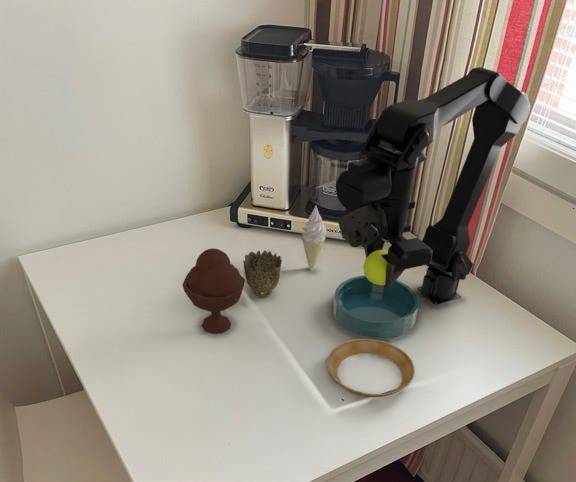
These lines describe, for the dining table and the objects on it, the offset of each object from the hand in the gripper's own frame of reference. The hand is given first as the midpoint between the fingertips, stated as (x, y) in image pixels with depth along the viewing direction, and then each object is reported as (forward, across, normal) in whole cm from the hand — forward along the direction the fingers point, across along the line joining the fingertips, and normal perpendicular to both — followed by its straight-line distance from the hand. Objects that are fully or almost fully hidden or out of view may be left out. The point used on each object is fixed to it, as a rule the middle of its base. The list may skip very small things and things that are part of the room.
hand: (379, 277), depth 107 cm
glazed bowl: (+12, -4, +3) cm, 13 cm away
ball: (+1, 0, 0) cm, 1 cm away
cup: (+12, -19, -14) cm, 26 cm away
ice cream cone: (+12, -23, -1) cm, 26 cm away
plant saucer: (+12, +11, -7) cm, 18 cm away
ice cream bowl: (+12, -12, -26) cm, 32 cm away
